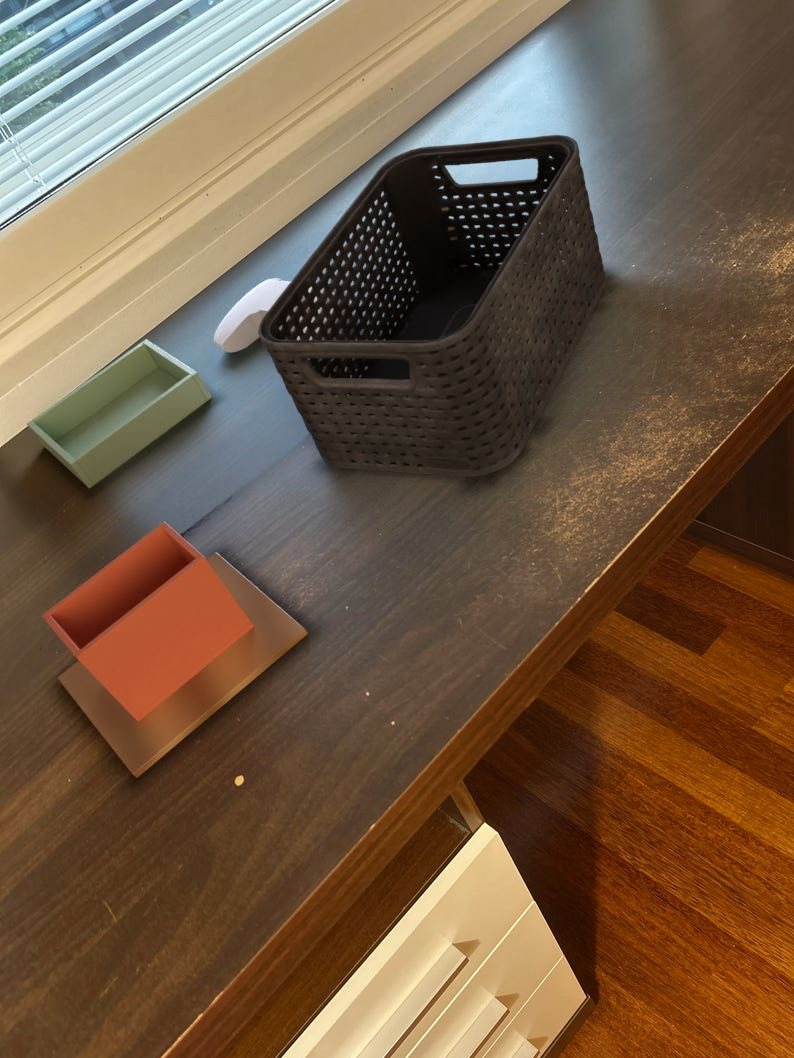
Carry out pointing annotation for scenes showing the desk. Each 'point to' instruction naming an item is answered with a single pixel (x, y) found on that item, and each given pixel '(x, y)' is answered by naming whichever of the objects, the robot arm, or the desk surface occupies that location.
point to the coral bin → (149, 620)
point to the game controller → (255, 316)
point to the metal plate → (200, 693)
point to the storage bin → (441, 311)
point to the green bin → (119, 411)
